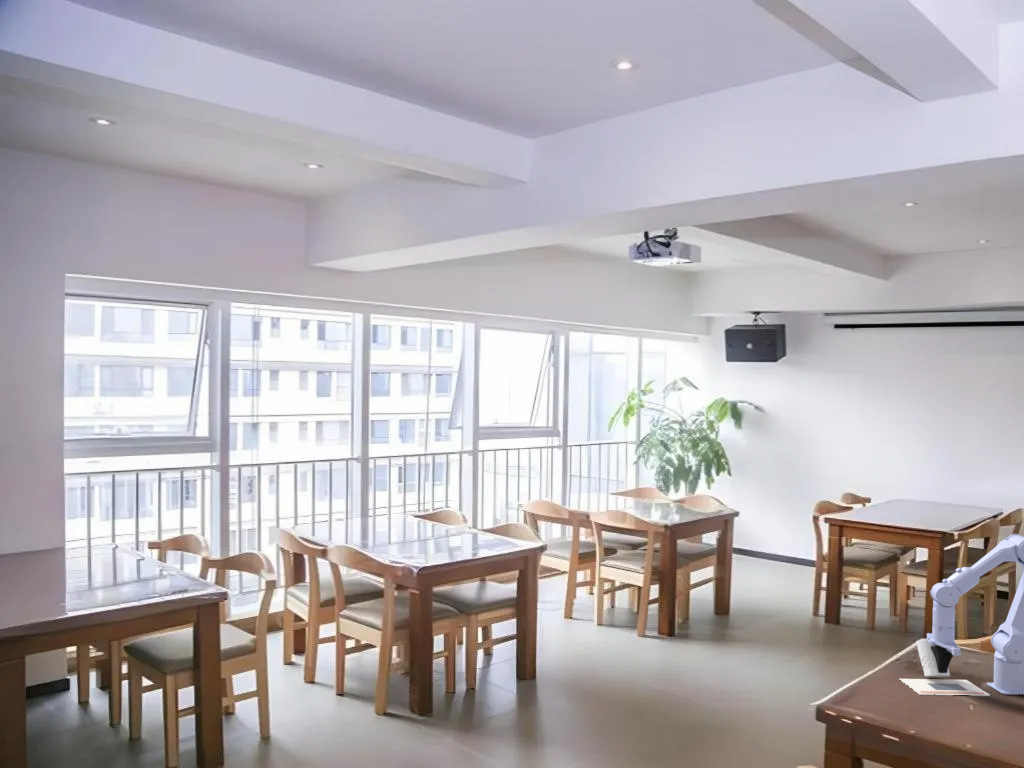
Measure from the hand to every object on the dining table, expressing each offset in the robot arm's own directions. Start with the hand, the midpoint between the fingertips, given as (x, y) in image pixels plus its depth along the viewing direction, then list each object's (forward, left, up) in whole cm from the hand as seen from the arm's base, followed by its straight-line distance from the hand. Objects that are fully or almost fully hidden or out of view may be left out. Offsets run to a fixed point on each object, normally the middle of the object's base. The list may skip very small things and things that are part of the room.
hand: (942, 672), depth 234 cm
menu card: (+1, +2, -4) cm, 4 cm away
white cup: (0, -3, -2) cm, 4 cm away
